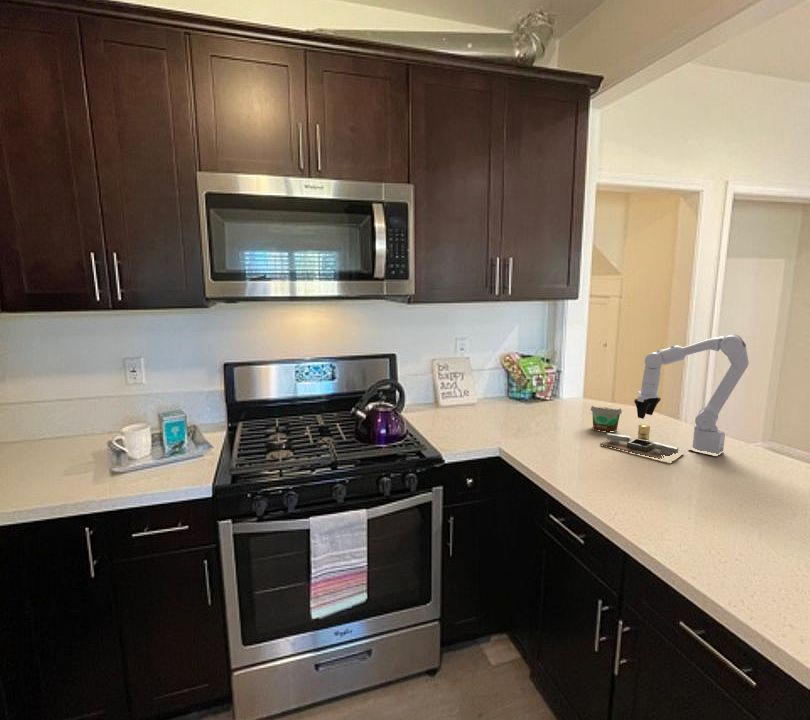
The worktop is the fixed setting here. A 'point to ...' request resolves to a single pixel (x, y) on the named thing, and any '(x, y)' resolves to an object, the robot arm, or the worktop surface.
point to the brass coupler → (643, 432)
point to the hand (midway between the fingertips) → (644, 416)
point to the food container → (605, 418)
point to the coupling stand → (639, 446)
